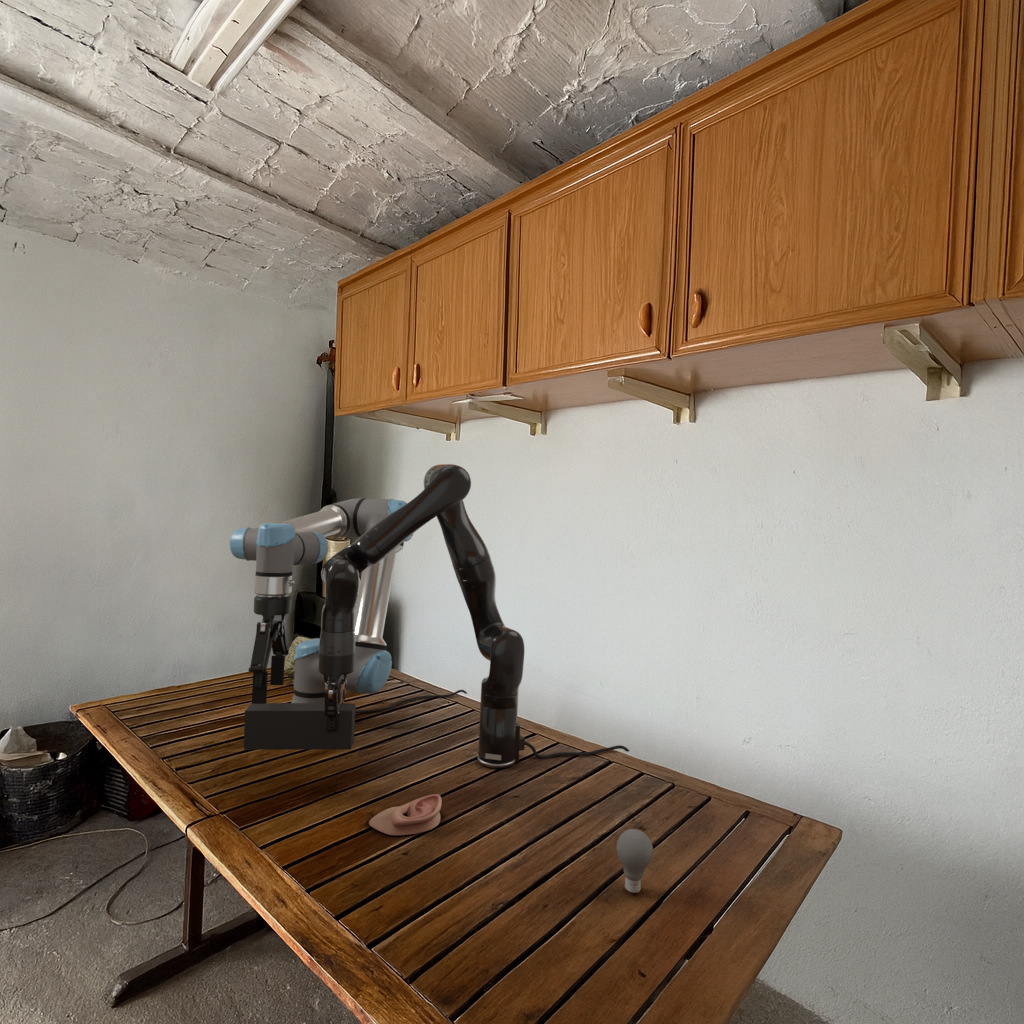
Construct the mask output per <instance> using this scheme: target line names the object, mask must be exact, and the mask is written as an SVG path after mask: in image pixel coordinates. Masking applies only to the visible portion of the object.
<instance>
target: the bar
mask: <svg viewBox="0 0 1024 1024" xmlns="http://www.w3.org/2000/svg"><path fill="white" fill-rule="evenodd" d="M330 710H334V707H333V706H330ZM355 711H356V703H352V702H350V703H348V702H347V703H345V702H344V703H342V704H341V705H340V706H339V716H338V731H337V733H335V734H329V733H327V716H325V714H324V713H325V703H291V702H266V704H252V703H250V705H248V707H247V708H246V709H245V710H244V724H243V725H244V726H243V728H244V729H243V750H244V751H245V750H246V751H252V750H253V751H256V750H257V751H258V750H262V751H264V750H265V751H266V750H267V751H269V750H271V751H272V750H274V751H275V750H276V751H277V750H278V751H279V750H282V751H283V750H292V751H293V750H294V751H295V750H352V747H353V744H354V741H355V726H356V724H355V723H356V713H355Z"/></svg>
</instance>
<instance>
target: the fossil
mask: <svg viewBox="0 0 1024 1024" xmlns="http://www.w3.org/2000/svg"><path fill="white" fill-rule="evenodd" d="M313 639H319V637H315V638H308V637H304V636H297V637H296V638H295V639H294V640H293V641H292V642H291V645H290V646H289V647H288V650H289V654H288V655H285V661H284V674H286V676H287V677H288V678H289V679H290V683H291V685H294V669H295V660H294V658H295V652H296V647H297V645H298V644H300V643H302V642H304V641H308V640H313Z"/></svg>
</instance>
